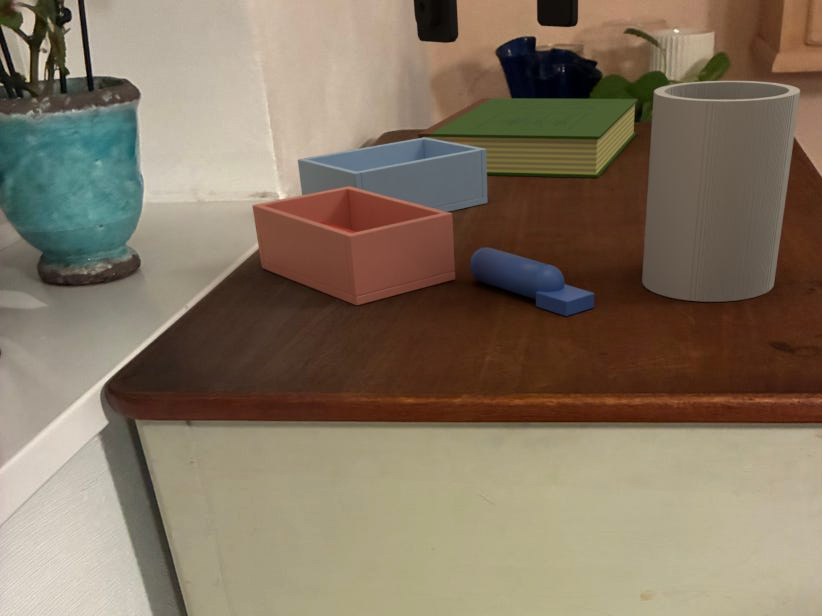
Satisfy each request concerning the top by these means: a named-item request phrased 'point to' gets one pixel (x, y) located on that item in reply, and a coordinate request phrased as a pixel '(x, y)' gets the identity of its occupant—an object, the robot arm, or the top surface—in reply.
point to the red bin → (356, 243)
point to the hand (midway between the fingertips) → (499, 33)
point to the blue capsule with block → (530, 281)
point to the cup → (717, 188)
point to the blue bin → (404, 172)
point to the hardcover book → (542, 134)
